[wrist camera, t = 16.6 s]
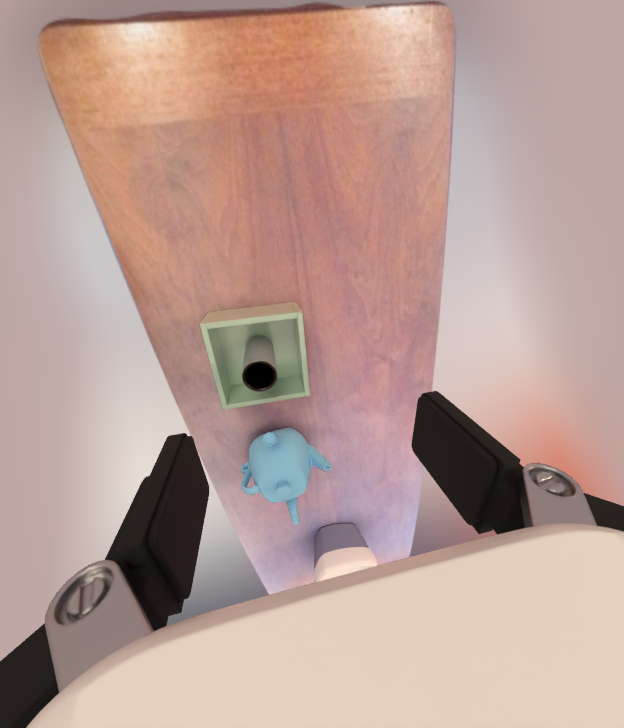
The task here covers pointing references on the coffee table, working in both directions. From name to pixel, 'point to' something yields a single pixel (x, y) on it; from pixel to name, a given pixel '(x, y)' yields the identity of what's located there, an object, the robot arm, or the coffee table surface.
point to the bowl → (340, 552)
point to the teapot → (281, 467)
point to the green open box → (227, 351)
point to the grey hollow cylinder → (259, 364)
